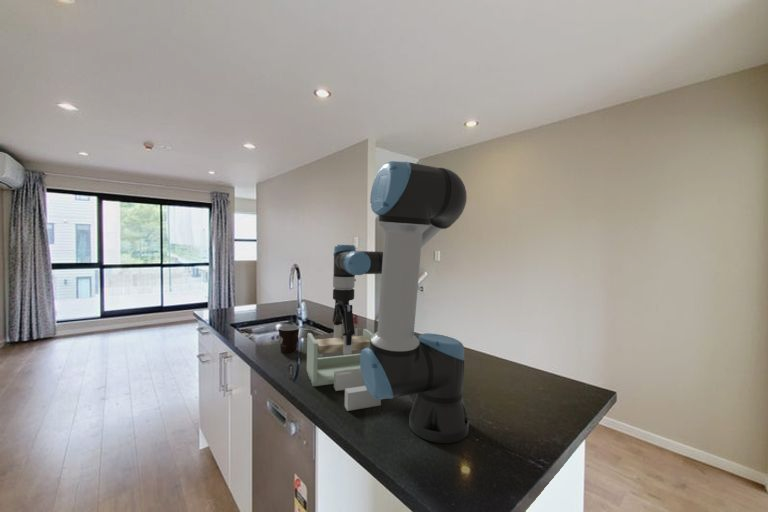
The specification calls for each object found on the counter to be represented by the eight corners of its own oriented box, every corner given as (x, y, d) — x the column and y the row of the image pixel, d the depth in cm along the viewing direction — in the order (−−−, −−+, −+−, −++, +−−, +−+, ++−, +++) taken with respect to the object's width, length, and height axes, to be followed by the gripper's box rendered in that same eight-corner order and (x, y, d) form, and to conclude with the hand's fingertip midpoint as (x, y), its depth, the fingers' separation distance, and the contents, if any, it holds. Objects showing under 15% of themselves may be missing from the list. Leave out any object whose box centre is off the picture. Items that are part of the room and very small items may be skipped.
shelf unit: (377, 377, 112) (378, 337, 112) (313, 386, 104) (314, 343, 103) (365, 364, 124) (366, 328, 124) (306, 371, 116) (307, 333, 115)
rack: (380, 405, 93) (381, 388, 93) (347, 411, 89) (347, 393, 89) (362, 382, 107) (363, 368, 107) (333, 387, 104) (334, 371, 103)
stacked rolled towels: (319, 353, 106) (319, 346, 106) (314, 346, 114) (314, 339, 114) (369, 348, 113) (370, 341, 113) (362, 342, 121) (362, 335, 121)
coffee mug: (278, 348, 140) (278, 325, 140) (298, 347, 143) (299, 324, 142) (277, 357, 129) (278, 332, 129) (299, 355, 132) (300, 331, 131)
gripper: (365, 293, 103) (363, 358, 103) (344, 283, 126) (343, 337, 127) (342, 293, 100) (341, 361, 101) (325, 284, 123) (324, 339, 124)
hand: (342, 348), depth 114 cm, fingers open, 13 cm apart
